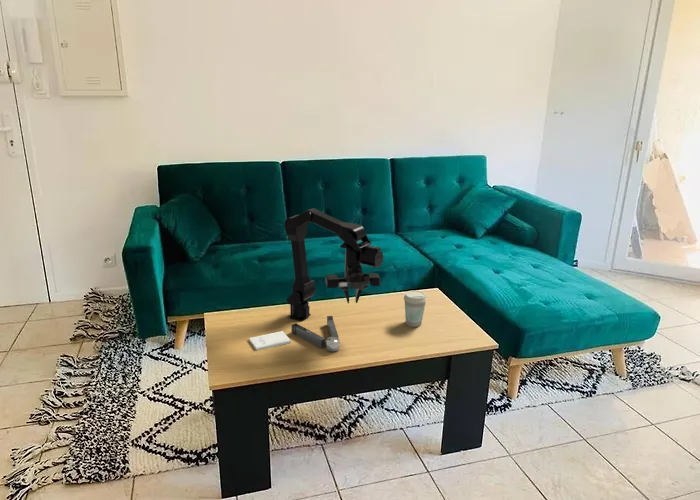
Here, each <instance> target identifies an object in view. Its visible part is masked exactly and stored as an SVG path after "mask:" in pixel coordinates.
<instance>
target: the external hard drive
mask: <svg viewBox="0 0 700 500" xmlns="http://www.w3.org/2000/svg"><path fill="white" fill-rule="evenodd" d="M248 341H249V343H251V345H252V346H253V348H254V350H256V351H261V350H265V349H270V348H273V347H278V346H283V345H287V344H291V343H292V341H291V339H290V337H288V336H287V334H286V333H285V332H284V331H283V330H281V331H276V332H273V333H272V332H271V333H268V334H267V333H266V334H263V335H258V336H253V337H248Z"/></svg>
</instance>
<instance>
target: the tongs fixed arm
mask: <svg viewBox="0 0 700 500" xmlns="http://www.w3.org/2000/svg"><path fill="white" fill-rule="evenodd" d="M291 333H292V334H294V335H295V336H297V337H299V338H301V339H303V340H304V341H306V342H308V343H310V344H312V345H314V346H315V347H317V348H320V349H324V348H326V338H325V337H323V336H322V335H320V334H318V333H315V332H313V331H311V330H310V329H308V328H306V327H304V326H302V325H300V324H298V323H293V324H291Z"/></svg>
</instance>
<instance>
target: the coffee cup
mask: <svg viewBox="0 0 700 500" xmlns="http://www.w3.org/2000/svg"><path fill="white" fill-rule="evenodd" d="M403 301H404V311H405V315H404V316H405V317H404V318H405V324H406V326H408V327H411V328H418V327H420V326H421V325H422V323H423V322H422V321H423V318H424V313H425V312H424V311H425V307H426V302H427V301H428V299H427V296H426V294H425V292H423V291H420V290H409V291H406V292H405V294H404V297H403Z"/></svg>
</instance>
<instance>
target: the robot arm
mask: <svg viewBox="0 0 700 500" xmlns="http://www.w3.org/2000/svg"><path fill="white" fill-rule="evenodd" d="M310 223H313V224H315V225H317V226H319V227H321V228H323V229H326V230H328V231H330V232H332V233H335V234H336V235H337V236H338V238H339V239H340V240H341V241H343V243H342V244H340V245H339V248H342V249H345V252H344V254H345V255H344V256H345V257H344V258H345V259H344V277H338V275H337V274H327V275H326V276H325V285H326V288H329V289H334V288H336V289H337V288H338V287H339V289H340V290H343V293H344V295H345V298H346V299H345V300H346V302H347V304H350V294H349V290H355V301H354V302H355V304H358V302H359V300H360V297H361V294H362V293H363V291H364V290H365V289H368V287H369V286H368V285H370V286H371V287H380V286H381V283H382V281H381V278H380V276H379V274H378V273H376V272H372V273H363V268H362V265H365V266H370V267H373V268H380V267H381V266H382V264H383V261H384V253H383V251H382V250H381V246H373V245H372V242H371V240H370V238H369V237H368V235H367V233H366V230H365V227H363V225H361V224H358V223H354V222H344V221H342V220H341V219H338V218H335V217H333V216H331V215H329V214H326V213H325V212H322V211H320V210H319V209H317V208H315V207H313V208H310V209H307V210H305V211H303V212H302V213H299V214H296V215H293V216H291V217H287V218H286V219H285V220H284V221H283V225H284V226H283V227H284V230H285V234H286V236H287V238H288V239H289V241H290V242H291V243H290V244H291V252H292V260H293V270H294V280H293V284H292V288H291V294H290V295H289V296H287V298H286V302H287V304H288V305H290V306H289V307H290V309H289V310H290V311H289V312H290V313H289V315H288V319H293V320H297V321H300V322H303V321H306V319H308V318H309V317H310V316H311V314H312V313H310V305H309V301H310V300H312V297H313V296H314V295H315V292H316V291H317V288H316V286H315V284H316V281H315V280H314V279H313V280H312V279H311V278H310V276H309V272H308V271H309V270H308V262H307V261H308V260H307V252H306V243H305V242H306V241H305V240H306V239H305V238H306V236H307V232H308V225H309V224H310ZM359 242H360V243H359Z"/></svg>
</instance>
